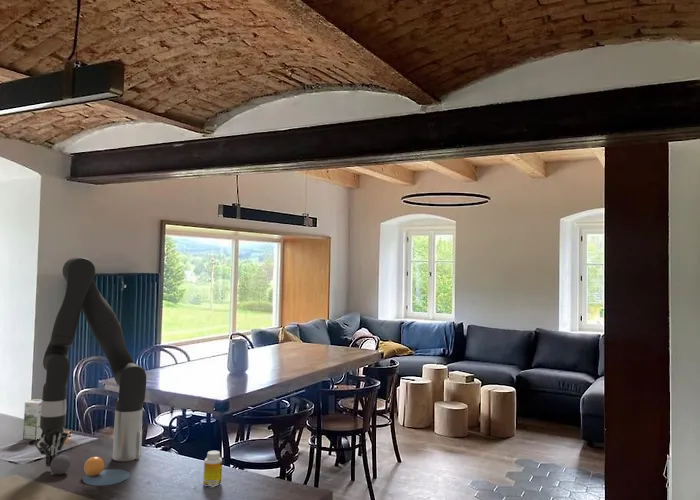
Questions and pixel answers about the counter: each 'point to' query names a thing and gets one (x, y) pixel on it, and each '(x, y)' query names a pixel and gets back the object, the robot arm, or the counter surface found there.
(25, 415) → the syrup box
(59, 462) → the cue ball
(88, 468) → the object ball
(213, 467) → the supplement bottle
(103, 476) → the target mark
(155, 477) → the counter surface
